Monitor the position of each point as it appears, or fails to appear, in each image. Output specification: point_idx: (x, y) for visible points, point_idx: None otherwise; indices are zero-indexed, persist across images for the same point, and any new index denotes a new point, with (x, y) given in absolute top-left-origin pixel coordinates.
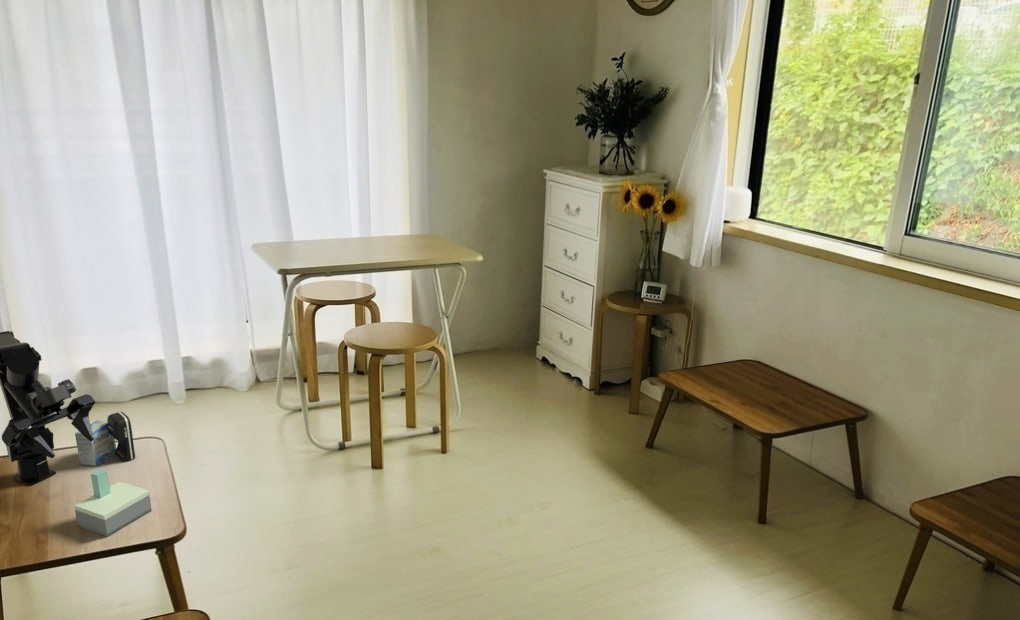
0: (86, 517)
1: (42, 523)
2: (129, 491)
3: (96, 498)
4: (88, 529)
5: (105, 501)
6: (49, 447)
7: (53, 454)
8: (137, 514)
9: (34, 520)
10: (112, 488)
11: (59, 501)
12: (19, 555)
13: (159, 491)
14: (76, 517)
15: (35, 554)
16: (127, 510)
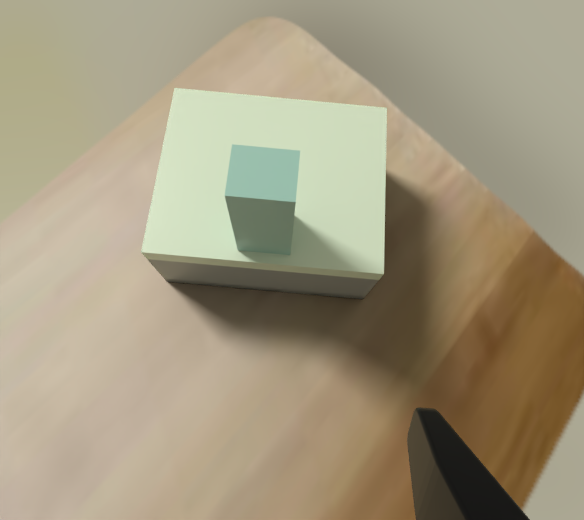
0: None
1: (406, 449)
2: (204, 150)
3: (301, 231)
4: None
5: (304, 179)
6: (457, 487)
7: (433, 415)
8: None
9: (406, 506)
10: (206, 233)
11: None
12: (573, 336)
13: (65, 207)
14: (370, 289)
15: (540, 290)
16: None
